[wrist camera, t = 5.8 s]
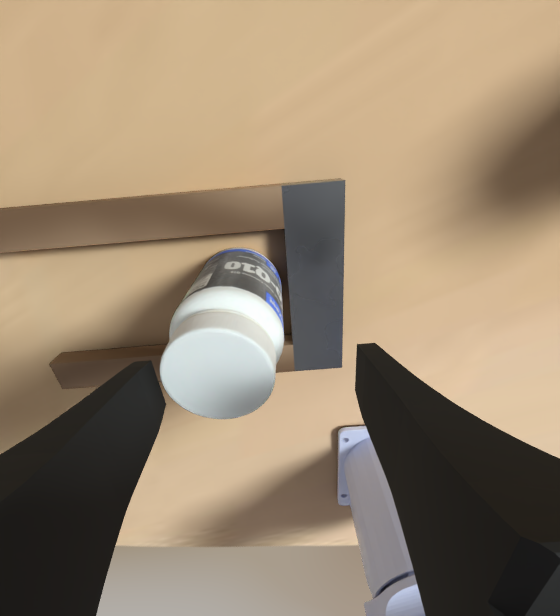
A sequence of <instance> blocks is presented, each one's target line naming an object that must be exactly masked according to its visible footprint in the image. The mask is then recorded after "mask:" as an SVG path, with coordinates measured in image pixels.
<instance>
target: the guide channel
mask: <svg viewBox="0 0 560 616" xmlns="http://www.w3.org/2000/svg"><path fill="white" fill-rule="evenodd" d="M275 229H285V228H284V215H283V201H282V187H281V184H271V185H260V186H249V187H237V188H226V189H214V190H203V191H192V192H180V193H169V194H157V195H146V196H135V197H123V198H112V199H101V200H89V201H78V202H66V203H55V204H44V205H32V206H21V207H9V208H0V253H5V252H17V251H28V250H40V249H52V248H64V247H75V246H87V245H99V244H111V243H122V242H134V241H146V240H157V239H169V238H181V237H193V236H204V235H216V234H228V233H240V232H251V231H263V230H275ZM167 345H168V344H165V345H152V346H140V347H127V348H115V349H102V350H89V351H77V352H64V353H61V354H60V355H59V356H57V357H56V358H55V359H54V360H53V361H52V362H51V363H50V366H51V368H52V370H53V372H54V374H55V376H56V378H57V380H58V381H59V383H60V385H61V387H62V389H70V388H83V387H96V386H101V385H103V384H104V383H105V382H107V381H108V380H109V379H111V378H112V377H113V376H115V375H116V374H117V373H119V372H120V371H121V370H123V369H124V368H125V367H127V366H128V365H130V364H131V363H133V362H136V361H149V360H151V361H152V364H153V367H154V370H155V373H156V376H157V379H158V382H161V378H160V362H161V357H162V354H163V352H164V350H165V348H166V346H167ZM290 371H295V367H294V353H293V341H292V334H291V335H284V347H283V350H282V354H281V356H280V359H279V361H278V362H277V364H276V373H277V372H290Z"/></svg>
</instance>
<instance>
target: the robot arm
mask: <svg viewBox="0 0 560 616" xmlns="http://www.w3.org/2000/svg"><path fill="white" fill-rule="evenodd" d="M355 391H356V395H357V399H358V403H359V407H360V411H361V415H362V418H363V420H364V423H365V426H356V427H344V428H341V429H340V430H339V431H338V494H337V499H338V504H339V505H342V506H346V505H350V507H351V511H352V516H353V521H354V525H355V530H356V534H357V539H358V543H359V548H360V552H361V557H362V562H363V566H364V571H365V575H366V579H367V583H368V586H369V588H370V591H371V593H372V596H373V599H372V600H370V601H367V602H365V603H364V607H365V612H366V616H560V459H559V458H557V457H555V456H552V455H550V454H548V453H546V452H544V451H542V450H539V449H537V448H535V447H533V446H531V445H529V444H527V443H525V442H523V441H521V440H519V439H517V438H515V437H513V436H511V435H509V434H507V433H505V432H503V431H501V430H499V429H498V428H496V427H494V426H492V425H490V424H488V423H487V422H485V421H483V420H481V419H480V418H478V417H476V416H475V415H473V414H471V413H469V412H468V411H466V410H464V409H463V408H461V407H459V406H458V405H456V404H455V403H453V402H452V401H450V400H449V399H447V398H446V397H444V396H443V395H441V394H440V393H438V392H437V391H435V390H434V389H433V388H431V387H430V386H428V385H427V384H426V383H424V382H423V381H421V380H420V379H419V378H417V377H416V376H415V375H414V374H412V373H411V372H410V371H408V370H407V369H406V368H405V367H403V366H402V365H401V364H400V363H398V362H397V361H396V360H395V359H394V358H392V357H391V356H390V355H389V354H388V353H386V352H385V351H384V350H383V349H382V348H380V347H379V346H378V345H377V344H375V343H368V344H357V358H356V382H355ZM165 406H166V403H165V400H164V397H163V394H162V391H161V388H160V385H159V382H158V379H157V376H156V373H155V370H154V367H153V364H152V361H151V360H149V361H136V362H133V363H131V364H130V365H128V366H127V367H125V368H124V369H123V370H121V371H120V372H119V373H117V374H116V375H115V376H113V377H112V378H111V379H109V380H108V381H107V382H105V383H104V384H103V385H101V386H100V387H99V388H97V389H96V390H95V391H93V392H92V393H91V394H90V395H88V396H87V397H86V398H84V399H83V400H82V401H80V402H79V403H77V404H76V405H75V406H73V407H72V408H70V409H69V410H68V411H66V412H65V413H63V414H62V415H61V416H59V417H58V418H56V419H55V420H54V421H52V422H51V423H49V424H48V425H46V426H45V427H43V428H42V429H40V430H39V431H37V432H36V433H34V434H33V435H31V436H30V437H28V438H27V439H25V440H23V441H22V442H20V443H18V444H17V445H15V446H14V447H12V448H10V449H9V450H7V451H5V452H4V453H2V454H0V616H96V613H97V609H98V605H99V601H100V598H101V594H102V590H103V586H104V583H105V579H106V576H107V572H108V569H109V565H110V562H111V558H112V555H113V551H114V548H115V545H116V542H117V538H118V535H119V532H120V529H121V526H122V522H123V519H124V516H125V513H126V510H127V507H128V505H129V502H130V500H131V497H132V494H133V492H134V490H135V487H136V485H137V483H138V480H139V478H140V475H141V473H142V471H143V468H144V466H145V464H146V461H147V459H148V456H149V454H150V452H151V449H152V447H153V444H154V442H155V439H156V437H157V434H158V432H159V429H160V425H161V422H162V418H163V414H164V410H165Z"/></svg>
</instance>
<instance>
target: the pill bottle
mask: <svg viewBox="0 0 560 616" xmlns="http://www.w3.org/2000/svg"><path fill="white" fill-rule="evenodd" d="M169 339H170V340H169V343H168V345H167V346H166V348H165V350H164V352H163V354H162V357H161V362H160V378H161V381H162V384H163V386H164V388H165V390H166V392H167V393H168V394H169V396H170V397H171V398H172V399H173V400H174V401H175V402H176V403H177V404H179V405H180V406H181V407H183V408H184V409H186V410H188V411H190V412H192V413H194V414H197V415H199V416H203V417H207V418H213V419H232V418H238V417H241V416H244V415H247V414H249V413H251V412H253V411H255V410H256V409H258V408H259V407H260V406H262V405H263V404H264V403H265V402H266V400H267V399H268V398H269V396H270V395H271V392H272V390H273V387H274V383H275V373H276V364H277V362H278V361H279V359H280V356H281V354H282V350H283V347H284V327H283V306H282V288H281V280H280V277H279V274H278V272H277V270H276V268H275V266H274V265H273V264H272V263H271V262H270V260H268V259H267V258H266V257H265V256H264V255H262V254H261V253H259V252H257V251H255V250H252V249H248V248H230V249H226V250H223V251H221V252H219V253H217V254H216V255H214V256H213V257H212V258H211V259H210V260H209V261H208V262H207V263H206V265H205V266H204V267H203V269H202V271H201V272H200V274H199V275H198V277H197V278H196V280H195V281H194V283H193V284H192V286H191V287H190V289H189V291H188V292H187V294H186V295H185V297H184V298H183V300H182V302H181V303H180V305H179V306H178V308H177V309H176V311H175V313H174V315H173V317H172V320H171V324H170V330H169Z"/></svg>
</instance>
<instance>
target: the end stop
mask: <svg viewBox="0 0 560 616" xmlns="http://www.w3.org/2000/svg"><path fill="white" fill-rule="evenodd" d="M281 187H282V201H283V215H284V228H285V229H284V234H285V248H286V262H287V275H288V289H289V303H290V317H291V330H292V341H293V353H294V367H295V371H303V370H316V369H329V368H342V337H343V279H344V220H345V180H343V179H328V180H317V181H306V182H294V183H283V184H281Z"/></svg>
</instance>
